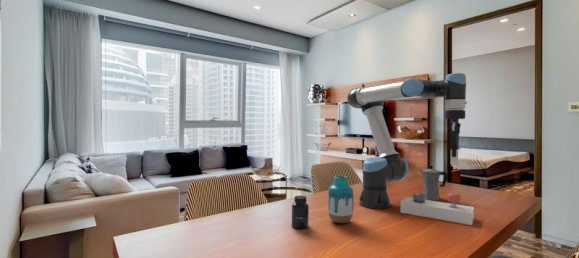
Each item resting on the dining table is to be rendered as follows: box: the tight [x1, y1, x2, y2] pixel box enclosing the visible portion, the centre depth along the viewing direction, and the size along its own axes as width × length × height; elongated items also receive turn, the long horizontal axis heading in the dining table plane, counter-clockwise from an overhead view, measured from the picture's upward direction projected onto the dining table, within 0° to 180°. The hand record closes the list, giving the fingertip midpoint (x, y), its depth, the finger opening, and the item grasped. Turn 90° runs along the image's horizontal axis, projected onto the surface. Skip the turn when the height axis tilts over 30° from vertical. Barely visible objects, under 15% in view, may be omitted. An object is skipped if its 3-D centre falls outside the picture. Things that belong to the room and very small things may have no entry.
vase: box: [327, 175, 354, 224], centre depth 118 cm, size 11×11×19 cm
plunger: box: [412, 192, 426, 203], centre depth 131 cm, size 5×5×8 cm
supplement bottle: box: [291, 195, 310, 230], centre depth 113 cm, size 7×7×12 cm
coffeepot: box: [419, 165, 449, 201], centre depth 154 cm, size 15×9×18 cm, turn 37°
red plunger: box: [447, 192, 462, 209], centre depth 122 cm, size 5×5×8 cm
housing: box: [400, 196, 475, 226], centre depth 127 cm, size 28×10×5 cm, turn 54°
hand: (454, 164), depth 122 cm, fingers closed
